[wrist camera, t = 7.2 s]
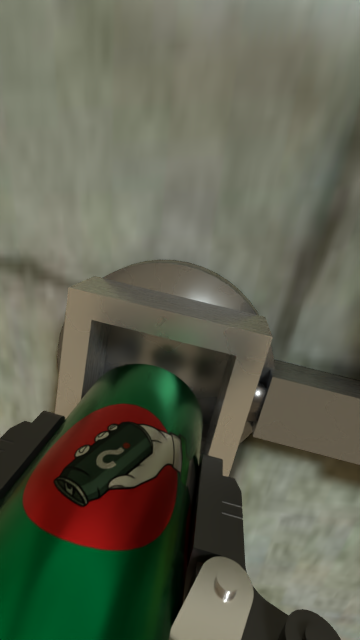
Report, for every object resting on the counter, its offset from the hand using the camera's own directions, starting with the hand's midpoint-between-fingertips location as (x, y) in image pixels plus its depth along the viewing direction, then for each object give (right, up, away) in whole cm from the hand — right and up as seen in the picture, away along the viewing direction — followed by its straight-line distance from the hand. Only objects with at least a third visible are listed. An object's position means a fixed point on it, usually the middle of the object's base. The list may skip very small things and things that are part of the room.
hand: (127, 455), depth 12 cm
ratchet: (+9, 0, +7) cm, 12 cm away
